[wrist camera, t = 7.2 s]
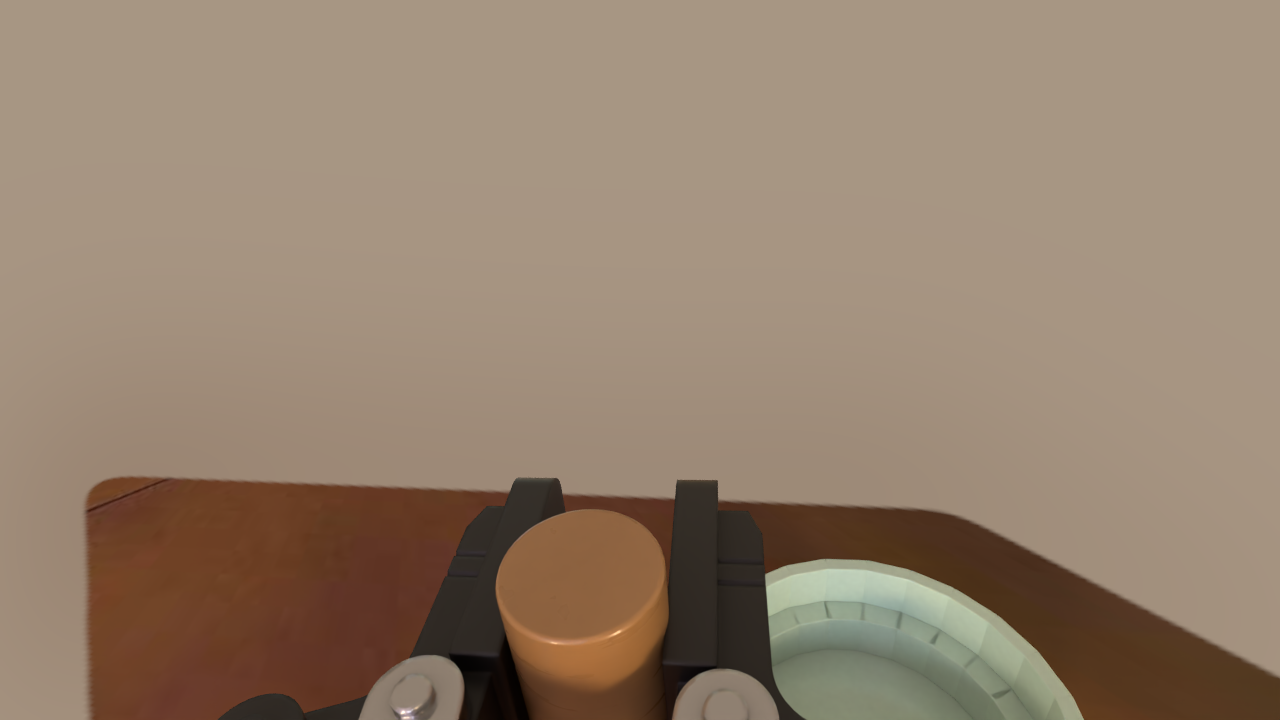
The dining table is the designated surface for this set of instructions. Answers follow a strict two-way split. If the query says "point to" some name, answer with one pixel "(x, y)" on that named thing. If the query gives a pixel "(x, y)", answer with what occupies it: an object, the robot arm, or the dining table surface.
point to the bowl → (900, 649)
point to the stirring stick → (587, 617)
